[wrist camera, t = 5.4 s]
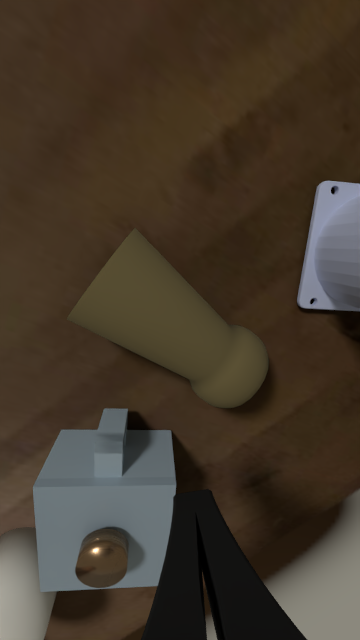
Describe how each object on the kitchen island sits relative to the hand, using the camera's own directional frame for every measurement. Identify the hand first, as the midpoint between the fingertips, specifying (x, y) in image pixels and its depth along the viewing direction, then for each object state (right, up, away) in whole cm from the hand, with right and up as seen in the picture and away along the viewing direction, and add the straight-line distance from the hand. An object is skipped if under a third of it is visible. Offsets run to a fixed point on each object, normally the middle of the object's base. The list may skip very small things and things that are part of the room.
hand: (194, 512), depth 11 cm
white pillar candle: (-13, -12, +13) cm, 22 cm away
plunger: (-5, -5, +11) cm, 13 cm away
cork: (-5, +10, +5) cm, 12 cm away
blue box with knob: (-5, -4, +11) cm, 13 cm away
